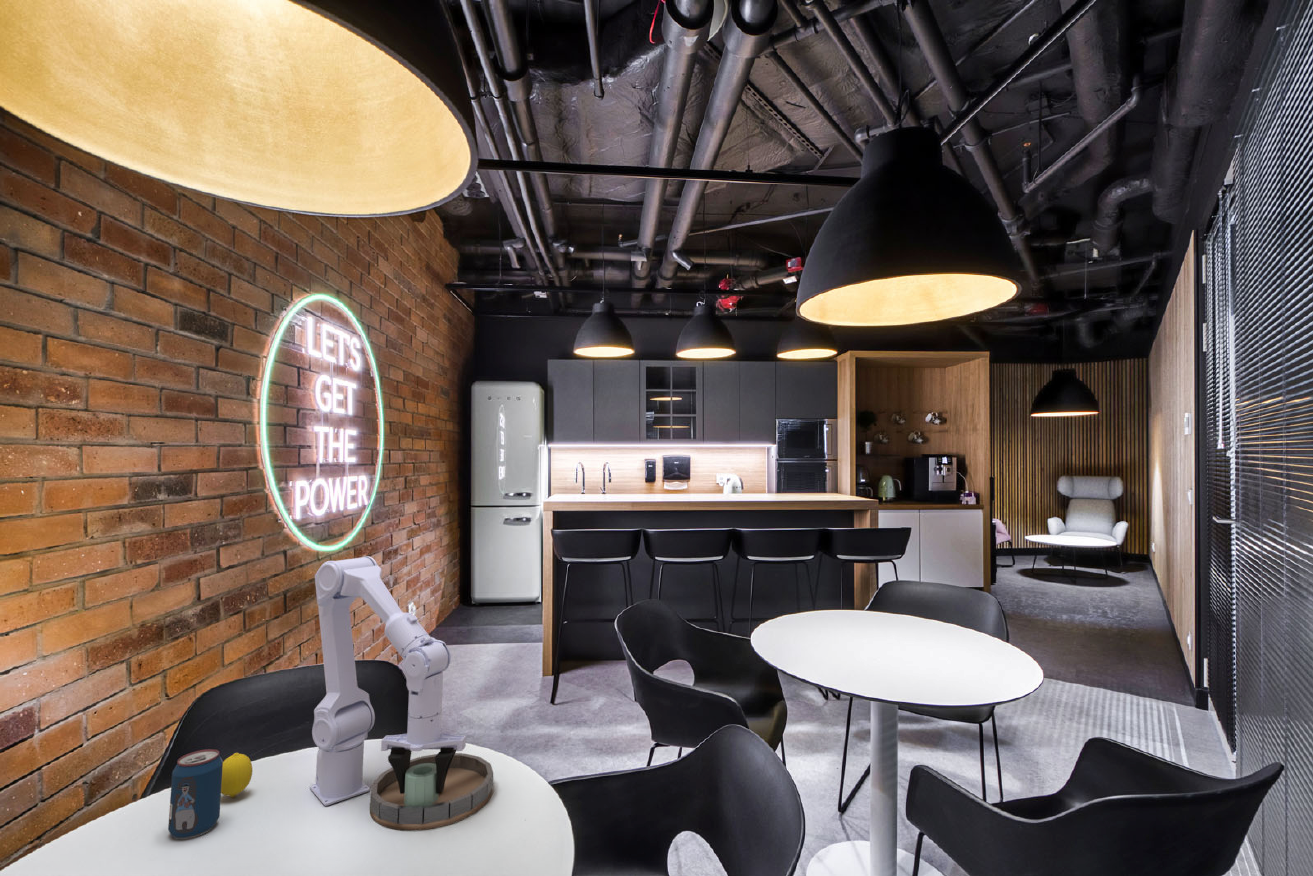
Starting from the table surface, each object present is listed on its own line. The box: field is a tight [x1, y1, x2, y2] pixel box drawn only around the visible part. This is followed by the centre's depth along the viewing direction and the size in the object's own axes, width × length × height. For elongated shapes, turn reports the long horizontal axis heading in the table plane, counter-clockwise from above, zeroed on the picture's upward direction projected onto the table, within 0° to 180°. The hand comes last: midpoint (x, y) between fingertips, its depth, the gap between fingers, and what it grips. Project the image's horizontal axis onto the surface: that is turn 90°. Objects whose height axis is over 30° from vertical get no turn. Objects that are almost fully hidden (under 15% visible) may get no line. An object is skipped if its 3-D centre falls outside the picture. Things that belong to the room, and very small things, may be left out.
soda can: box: [167, 748, 224, 840], centre depth 102 cm, size 7×7×12 cm
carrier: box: [369, 752, 494, 832], centre depth 112 cm, size 22×22×4 cm
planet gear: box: [404, 763, 439, 806], centre depth 107 cm, size 6×6×5 cm
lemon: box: [221, 752, 253, 799], centre depth 112 cm, size 6×6×8 cm
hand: (422, 791), depth 107 cm, fingers closed on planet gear, 6 cm apart
